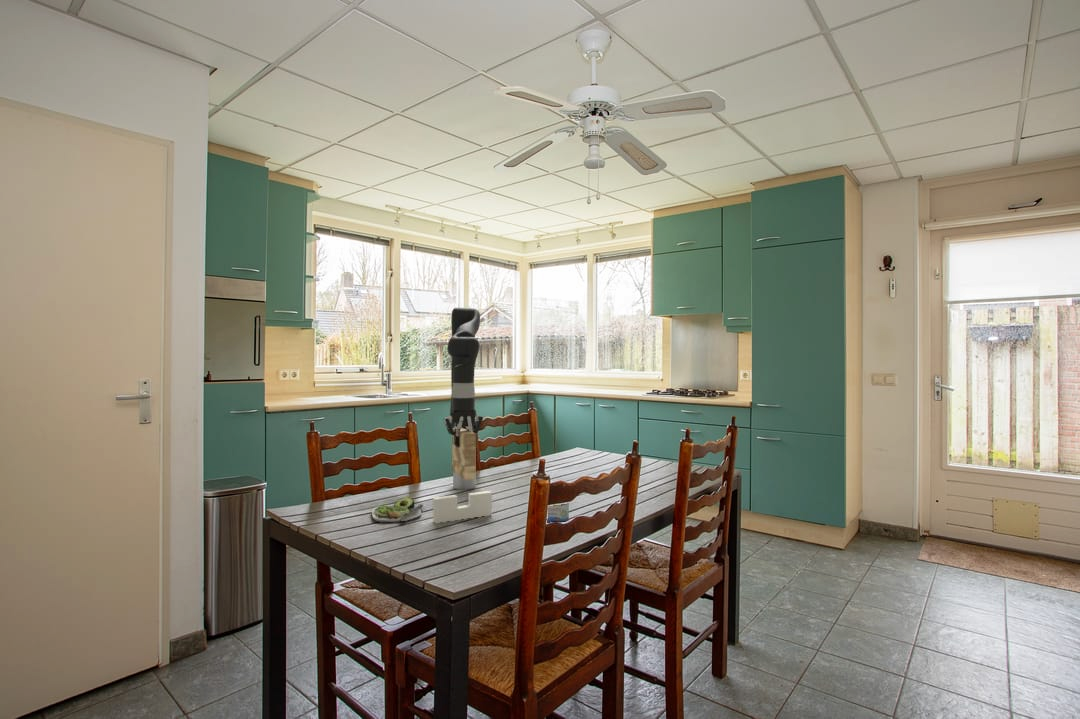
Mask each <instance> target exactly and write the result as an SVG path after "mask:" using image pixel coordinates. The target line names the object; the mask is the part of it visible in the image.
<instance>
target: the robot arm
mask: <svg viewBox="0 0 1080 719" xmlns="http://www.w3.org/2000/svg"><path fill="white" fill-rule="evenodd" d="M450 322H451V337H450V339H449V340H448V343H447V352H448V354H449V355H450V357H451V366H450V367H451V371H450V380H451V381H450V382H451V384H450V385H451V397H450V398H451V399H450V409H449V410H450V411H449V416H446V417H444V418H443V419H442V420H443V422H444V425H445V428H446V430H447V433H448V434H449V435H451V436H452V435H454V445H455V446H456V447H459V439H460V437H459V433H460V430H461V428H464V429H466V430H469V431H471V432H473V433H476V434H478V433H479V430H480V428H481V425H482V423H483V419H484V417H483V416H482V415H477V410H476V408H475V406H476V405H475V401H476V400H475V399H476V397H475V396H476V391H475V367H476V362H477V357H478V356H479V355H478V354H479V350H480V343H479V340H478V338H476V334H477V333H478V331H479V329H480V325H481V313H480V310H478V309H477V308H474V307H454V308H453V309H452V311H451V319H450ZM452 428H454V431H453V429H452ZM476 445H477V444H475V479H469V480H465V479H463V478H462V477H460V474H456V473H454V472H453V471H452V473H453V474H452V476H453V477H452V478H453V479H452V485H453V486H452V488H453V489H455V490H461V491H462V490H463V491H464V490H471V489H474V488H476V481H477V480H476V478H477V477H476V461H477V460H476V456H477V455H476V454H477V453H476V450H477V449H476V448H477V447H476Z"/></svg>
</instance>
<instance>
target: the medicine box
mask: <svg viewBox="0 0 1080 719" xmlns="http://www.w3.org/2000/svg"><path fill="white" fill-rule="evenodd" d="M569 509H570V502H569V503H567V504H561V505H553V506H549V507H548V520H547V522H546V523H553V522H552V521H559V523H560V522H568V521H567V520H570V519H569V518H570V515H569V513H570V510H569Z"/></svg>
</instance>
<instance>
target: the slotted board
mask: <svg viewBox="0 0 1080 719" xmlns="http://www.w3.org/2000/svg"><path fill="white" fill-rule="evenodd" d="M492 495H493V494H492V491H491V490H484V491H477V492H470V493H469V492H468V497H467V498H468V499H467V500H468V503H467V504H464V505H458V496H457V495H456V494H453V495H445V496H437V497H433V498H432V499H433V500H432V502H433V503H432V507H433V508H432V513H433V514H432V519H433V520H432V521H434V522H435V523H436V524H441V523H440V522H443V523H448V522H447V521H450V522H456V521H455V520H457V521H462V520H461V519H464V520H468V519H467V518H471V519H475V518H474V517H478V518H483V517H482V516H485V517H491V516H490V515H492V513H493V512H492V511H493V510H492V509H493V503H492V501H493V500H492V499H493V496H492ZM434 522H433V523H434ZM435 523H434V524H435Z"/></svg>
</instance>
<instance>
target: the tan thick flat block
mask: <svg viewBox="0 0 1080 719" xmlns="http://www.w3.org/2000/svg"><path fill="white" fill-rule="evenodd" d="M452 429H453V431H454V428H452ZM476 435H477V433H473V432H471V431H469V430H466V429H464V428H461V430H460V433H459V437H460V439H459V447H456V446H455V445H454V435H451V472H452V473H453V472H454V473H456V474H460V477H462V478H463V479H465V480H469V479H475V444H476V442H477V441H476V439H477V437H476ZM476 445H477V444H476Z"/></svg>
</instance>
